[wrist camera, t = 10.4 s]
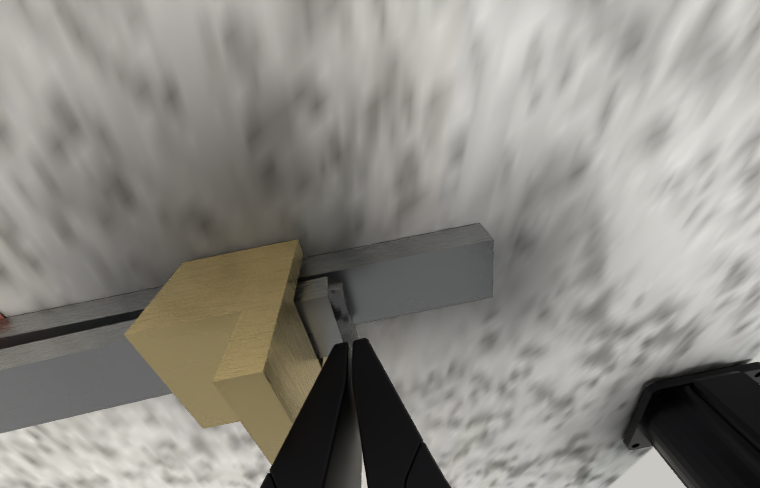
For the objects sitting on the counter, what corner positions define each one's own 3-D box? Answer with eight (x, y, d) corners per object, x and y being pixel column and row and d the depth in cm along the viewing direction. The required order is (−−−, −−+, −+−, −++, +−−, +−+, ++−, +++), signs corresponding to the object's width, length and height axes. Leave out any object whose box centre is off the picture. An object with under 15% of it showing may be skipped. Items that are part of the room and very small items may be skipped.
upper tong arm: (338, 264, 10) (339, 282, 9) (359, 334, 11) (361, 356, 11) (-167, 377, 9) (-218, 409, 8) (-71, 434, 11) (-104, 465, 10)
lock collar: (298, 239, 11) (262, 372, 6) (329, 328, 13) (321, 475, 8) (183, 262, 11) (60, 412, 6) (234, 347, 13) (173, 504, 8)
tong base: (479, 214, 11) (493, 229, 10) (480, 284, 13) (492, 304, 12) (-86, 327, 11) (-130, 354, 10) (-13, 383, 13) (-45, 411, 12)
